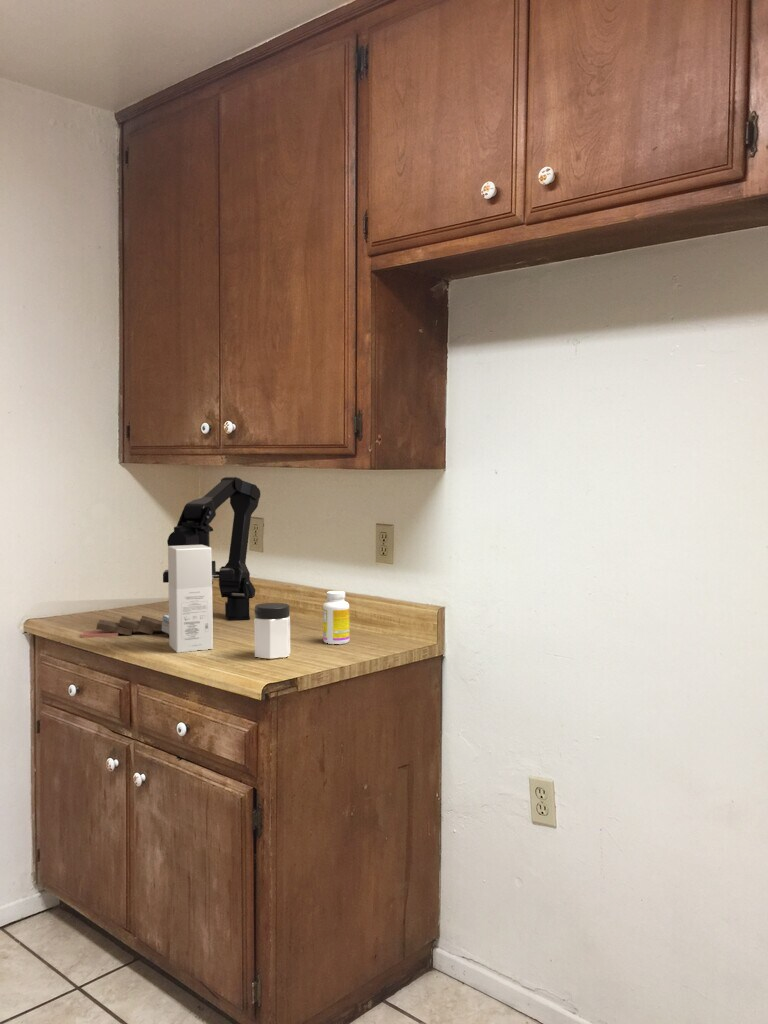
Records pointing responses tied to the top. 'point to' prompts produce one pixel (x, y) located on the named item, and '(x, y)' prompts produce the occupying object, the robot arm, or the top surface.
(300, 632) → the top surface
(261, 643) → the jar
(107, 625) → the tile
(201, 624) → the tall white carton
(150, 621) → the tile
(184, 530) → the robot arm
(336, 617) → the supplement bottle
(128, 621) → the tile
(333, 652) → the top surface
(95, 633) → the tile
